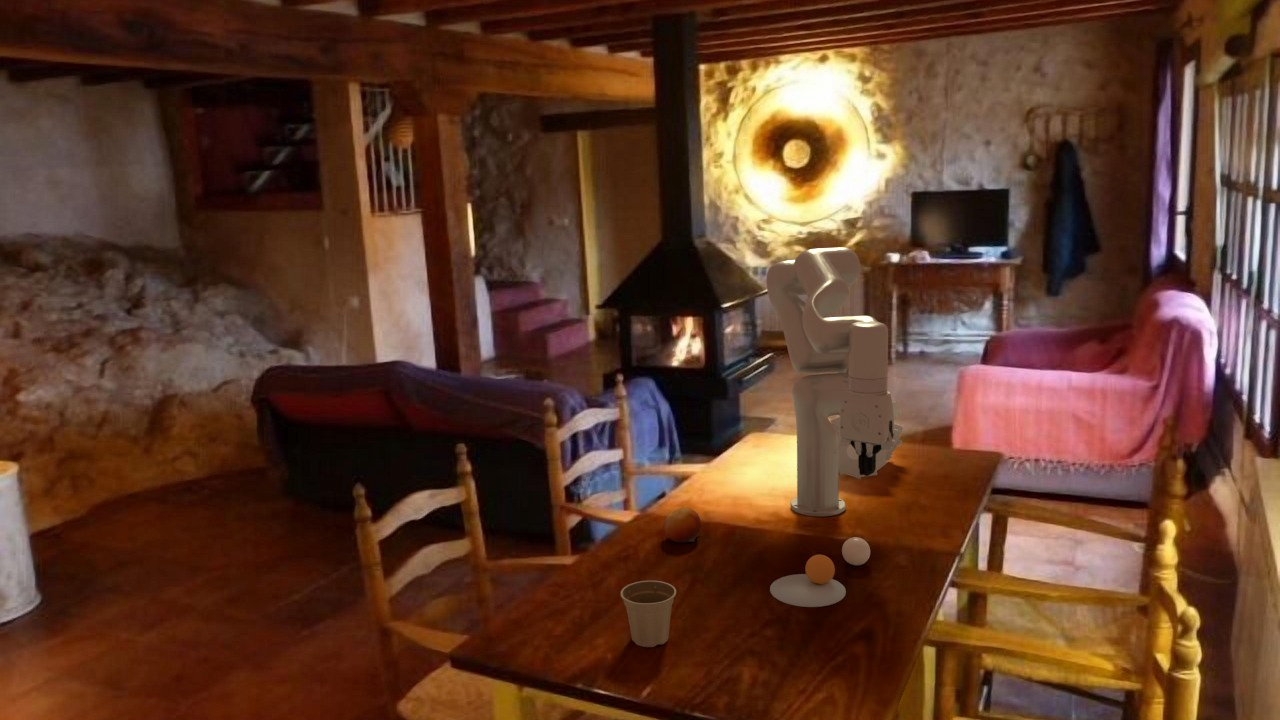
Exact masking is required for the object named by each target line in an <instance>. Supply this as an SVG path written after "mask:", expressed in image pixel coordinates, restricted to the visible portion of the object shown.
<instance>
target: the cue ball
mask: <svg viewBox="0 0 1280 720" xmlns="http://www.w3.org/2000/svg"><path fill="white" fill-rule="evenodd" d="M841 552H842V553H841V554H842V557H843V559H844V560H845V561H846V562H847V563H848V564H850V565H851V566H861V565H864V564H866V562H867V561H868V560H869V558H870V556H871V549H870V545H869V543H868V542H867V541H866V540H865V539H863V538H861V537H857V536H854V537H849V538H848V539H847V540H845V541H844V543H843V544H842V548H841Z"/></svg>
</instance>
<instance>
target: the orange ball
mask: <svg viewBox="0 0 1280 720" xmlns="http://www.w3.org/2000/svg"><path fill="white" fill-rule="evenodd" d="M804 569H805V574H807V576H808V578H809V579H810V580H811V581H812V582H814V583H816V584H825V583H827V582H829V581H830V580H831V579H833V578H834V576H835V573H836V572H835V571H836V569H835V564H834V562H833V561H832V559H831V558H830V557H828V556H826V555H824V554H815V555H812V556H811V557H810V558H809V559H808V560H807V561H806V564H805V568H804Z"/></svg>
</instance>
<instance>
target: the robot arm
mask: <svg viewBox="0 0 1280 720" xmlns="http://www.w3.org/2000/svg"><path fill="white" fill-rule="evenodd" d="M860 262H861V261H860V259H859V256H858V255H857V253H856V252H855V251H854V250H853V249H851V248H849V247H844V246H843V247H842V246H841V247H839V246H837V247H823V248H822V247H821V248H820V247H819V248H811V249H807V250H804V251H802V252H800V253H799V254H798V255H797V256H796V257H795V259H790V260H789V259H788V260H783V261H781V260H780V261H779V262H776V263H774V264H772V265H771V266H770V267H769V268H768V270H767V272H766V289H767V295H768V298H769V301H770V304H771V306H772V308H773V310H774V312H775V313H776V316H777V317H778V319H779V321H780V323H781V327H782V331H783V334H784V336H783V337H784V339H785V343H786V347H787V352H788V356H789V360H790V363H791V366H792V368H793V369H794V370H795V372H797V373H800V374H807V375H805V376H802V377H800V378H798V379H797V380H795V382H794V384H793V386H792V390H791V391H792V392H791V393H792V401H793V403H792V404H793V406H794V407H793V408H794V413H795V425H796V479H797V481H796V488H797V490H796V491H797V492H796V497H794V498H792V500H791V501H790V508H791V510H792V511H793V512H795V513H797V514H800V515H804V516H808V517H830V516H836V515H840V514H841V513H843V512H844V511H845V510H846V505H847V504H846V502H845V501H844V500H843V499H841V498H840V496H839V493H840V492H839V490H840V489H839V488H840V487H839V486H840V480H839V479H840V478H839V477H840V476H839V475H840V472H839V435H838V432H837V430H836V428H835V427H834V426H833V425H832V423H831V421H830V420H829V417H832V416H839V415H840V425H839V432H840V436H841V437H842V440H843V441H844V442H846V443H848V444H851V445H852V446H853V448H854V449H855V450H856V454H857V455H859V456H858V468H859V469H860V471H859V473H860V475H865V477H869V476H868V475H870V474H872V473H874V471H875V469H876V454H878V452H879V451H881V450H889V449H891V448H893V442H892V439H893V437H894V423H895V419H894V413H893V405H892V402H893V400H892V396H891V395H892V394H891V392H890V391H888V371H889V369H888V368H889V366H888V364H889V363H888V360H889V328H888V326H887V325H886V324H885V323H882V322H879V321H878V320H877V318H875V317H873V316H870V315H853V316H852V315H850V316H849V315H848V316H845V315H844V316H833V317H832V316H831V317H828V316H829V315H832V314H833V313H836V312H837V311H838V310H840V309H842V307H844V306H845V305H846V303H847V301H848V299H849V296H850V288H849V287H851V286H852V285H854V284H855V283H856V282H857V281H859V280H858V279H859V278H860V275H861V263H860ZM799 296H807V298H808V299H807V300H806V301H804V300H803V299H801V298H800V297H799ZM808 374H809V375H808ZM867 443H868V446H867Z"/></svg>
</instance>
